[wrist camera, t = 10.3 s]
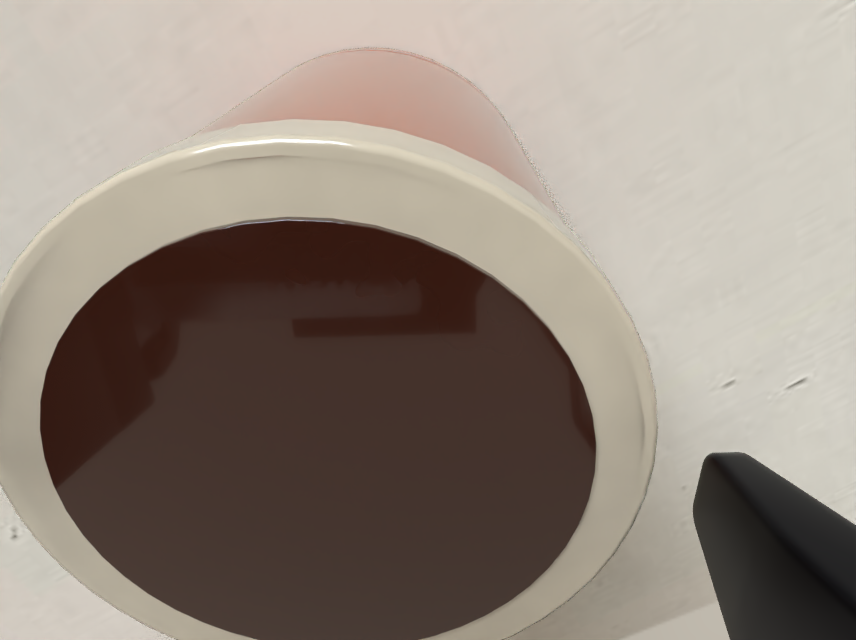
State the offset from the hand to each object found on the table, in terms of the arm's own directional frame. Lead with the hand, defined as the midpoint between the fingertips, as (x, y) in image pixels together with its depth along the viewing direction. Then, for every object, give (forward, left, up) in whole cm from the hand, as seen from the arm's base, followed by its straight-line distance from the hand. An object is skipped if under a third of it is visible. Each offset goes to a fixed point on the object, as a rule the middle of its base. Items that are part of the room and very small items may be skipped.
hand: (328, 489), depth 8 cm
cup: (-3, 0, -4) cm, 5 cm away
